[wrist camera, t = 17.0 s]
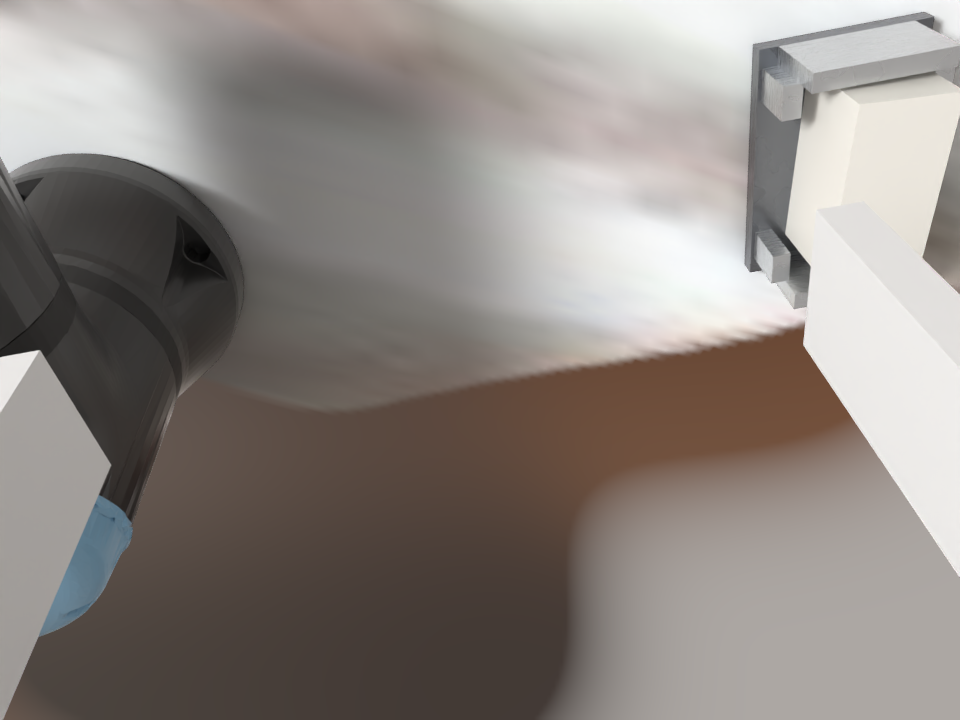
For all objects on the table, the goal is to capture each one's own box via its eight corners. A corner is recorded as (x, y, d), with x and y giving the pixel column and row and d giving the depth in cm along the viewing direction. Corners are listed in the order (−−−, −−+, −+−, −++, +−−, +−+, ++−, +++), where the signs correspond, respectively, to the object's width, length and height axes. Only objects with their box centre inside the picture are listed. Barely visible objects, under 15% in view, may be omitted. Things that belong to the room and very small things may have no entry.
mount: (888, 238, 50) (934, 284, 46) (744, 264, 51) (776, 312, 46) (924, 11, 42) (984, 41, 38) (752, 44, 43) (792, 77, 38)
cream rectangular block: (867, 223, 48) (917, 274, 44) (785, 234, 48) (826, 285, 44) (903, 54, 42) (965, 91, 38) (808, 65, 42) (859, 104, 38)
